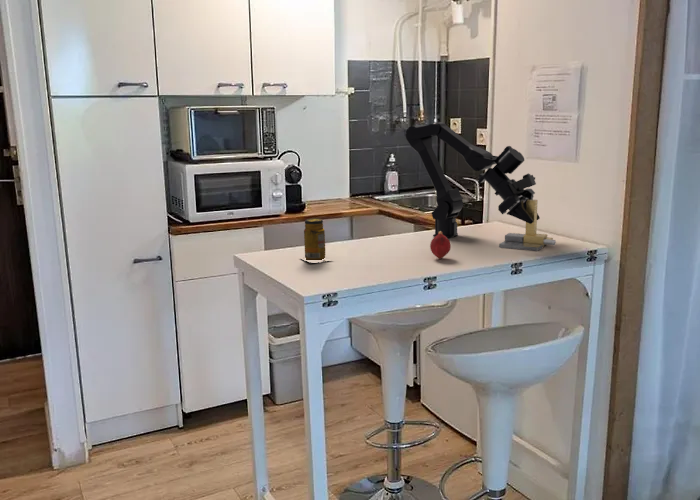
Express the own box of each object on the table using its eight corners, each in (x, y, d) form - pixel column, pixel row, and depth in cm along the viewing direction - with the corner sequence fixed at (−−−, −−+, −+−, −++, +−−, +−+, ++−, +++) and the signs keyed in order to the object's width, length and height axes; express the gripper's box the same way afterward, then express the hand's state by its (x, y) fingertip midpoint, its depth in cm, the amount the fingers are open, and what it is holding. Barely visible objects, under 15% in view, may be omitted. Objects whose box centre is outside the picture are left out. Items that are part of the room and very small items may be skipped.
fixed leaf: (499, 247, 203) (499, 238, 202) (509, 241, 210) (509, 232, 210) (548, 251, 195) (548, 242, 194) (556, 245, 203) (557, 236, 202)
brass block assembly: (504, 244, 207) (505, 199, 204) (515, 237, 216) (516, 195, 213) (542, 247, 201) (544, 201, 198) (552, 240, 209) (554, 197, 206)
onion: (451, 260, 188) (451, 233, 186) (431, 261, 188) (431, 233, 187) (449, 256, 194) (449, 229, 192) (429, 256, 194) (429, 229, 192)
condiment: (321, 256, 199) (320, 216, 197) (333, 261, 192) (331, 221, 189) (299, 259, 196) (297, 219, 194) (310, 265, 189) (308, 223, 186)
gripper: (509, 169, 194) (545, 208, 190) (529, 162, 209) (563, 199, 206) (483, 194, 200) (518, 233, 196) (504, 186, 215) (537, 222, 212)
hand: (535, 221), depth 202 cm, fingers open, 6 cm apart
